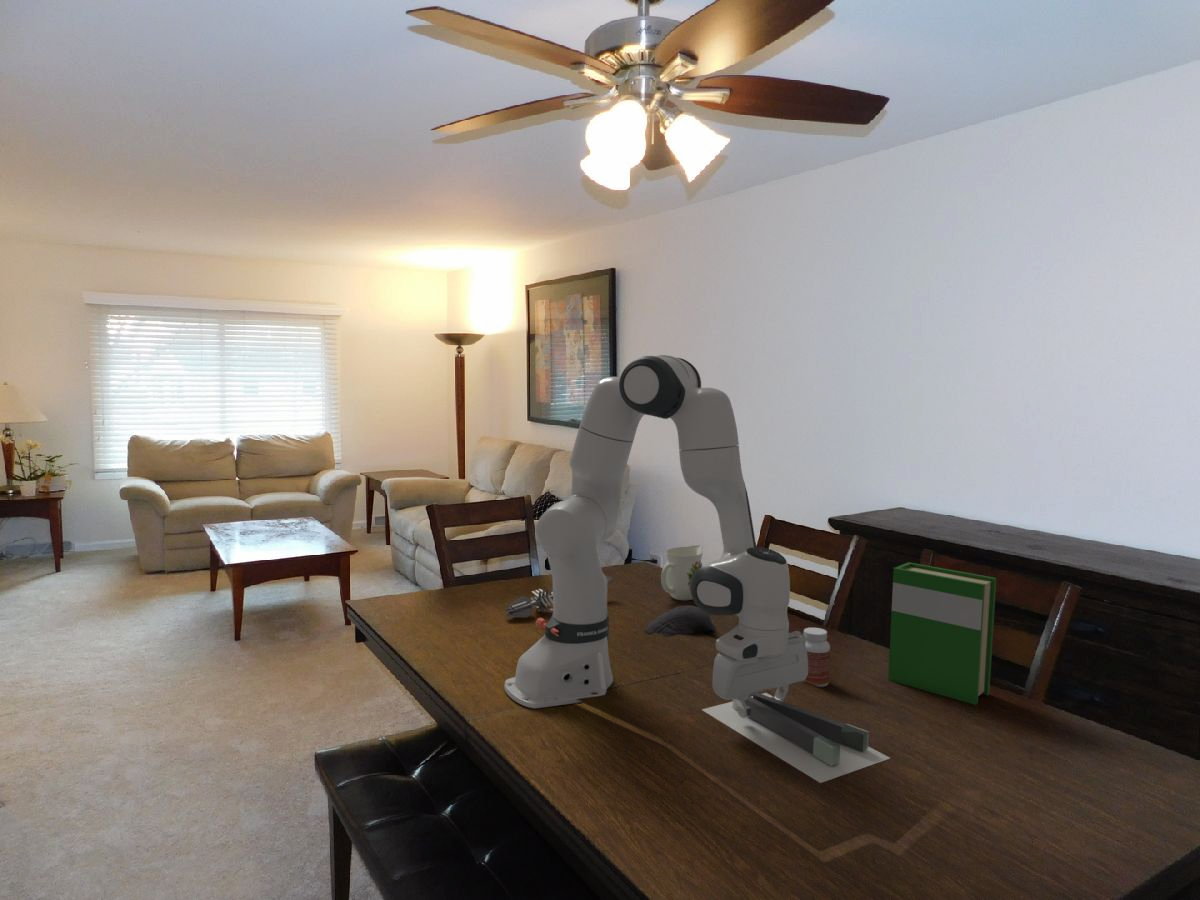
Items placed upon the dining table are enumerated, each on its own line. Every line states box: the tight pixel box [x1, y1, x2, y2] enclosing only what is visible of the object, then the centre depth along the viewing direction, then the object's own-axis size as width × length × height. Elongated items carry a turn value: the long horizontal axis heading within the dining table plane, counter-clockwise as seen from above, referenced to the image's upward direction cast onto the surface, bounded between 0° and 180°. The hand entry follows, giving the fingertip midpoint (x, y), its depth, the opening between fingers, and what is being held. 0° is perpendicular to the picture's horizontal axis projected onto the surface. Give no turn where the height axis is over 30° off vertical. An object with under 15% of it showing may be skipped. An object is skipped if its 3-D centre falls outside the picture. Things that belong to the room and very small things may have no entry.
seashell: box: [643, 604, 717, 637], centre depth 195 cm, size 14×19×8 cm
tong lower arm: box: [731, 694, 840, 766], centre depth 137 cm, size 26×4×4 cm, turn 30°
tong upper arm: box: [752, 692, 870, 752], centre depth 138 cm, size 22×2×3 cm, turn 44°
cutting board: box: [701, 692, 891, 784], centre depth 138 cm, size 16×30×1 cm, turn 30°
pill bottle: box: [803, 627, 831, 688], centre depth 162 cm, size 6×6×11 cm
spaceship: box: [504, 575, 612, 618], centre depth 211 cm, size 8×35×8 cm
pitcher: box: [660, 544, 704, 601], centre depth 222 cm, size 11×18×14 cm, turn 137°
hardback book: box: [887, 561, 997, 706], centre depth 160 cm, size 18×7×24 cm, turn 46°
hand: (760, 711), depth 143 cm, fingers open, 6 cm apart
